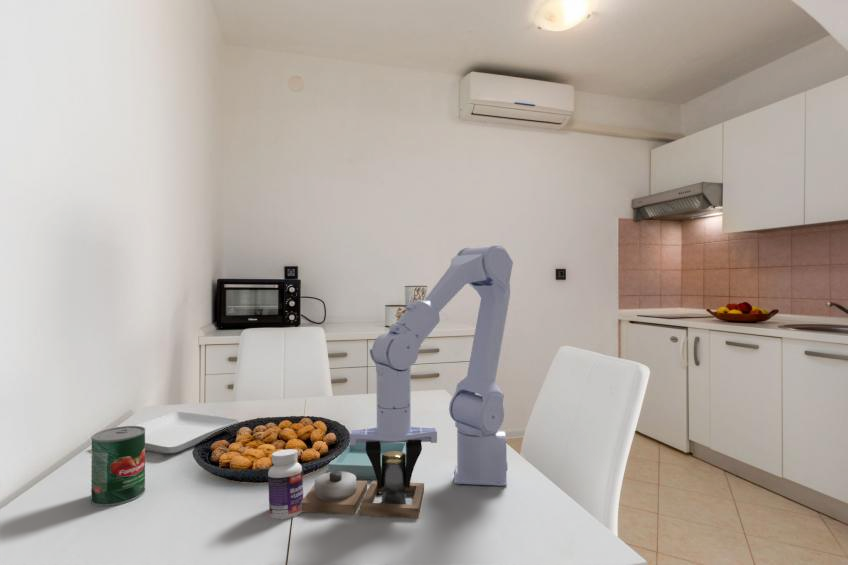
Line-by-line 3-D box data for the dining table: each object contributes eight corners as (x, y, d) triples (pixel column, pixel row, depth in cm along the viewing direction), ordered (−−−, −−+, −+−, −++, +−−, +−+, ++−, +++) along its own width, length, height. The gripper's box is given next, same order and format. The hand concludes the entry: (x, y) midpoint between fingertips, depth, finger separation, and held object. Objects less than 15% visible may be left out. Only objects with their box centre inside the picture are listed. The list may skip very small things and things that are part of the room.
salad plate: (172, 462, 97) (172, 445, 97) (98, 450, 104) (98, 435, 104) (242, 431, 117) (242, 418, 117) (176, 423, 124) (176, 410, 124)
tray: (410, 453, 101) (410, 441, 101) (401, 480, 88) (401, 467, 88) (347, 451, 103) (347, 439, 103) (328, 477, 89) (328, 464, 89)
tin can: (406, 498, 80) (406, 451, 80) (403, 509, 76) (403, 460, 76) (384, 497, 81) (384, 450, 81) (379, 508, 77) (379, 459, 77)
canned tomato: (133, 504, 78) (133, 438, 78) (81, 508, 77) (81, 441, 77) (152, 484, 86) (152, 424, 86) (105, 487, 84) (105, 426, 84)
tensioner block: (424, 491, 83) (424, 466, 83) (418, 518, 73) (418, 489, 73) (318, 487, 85) (318, 462, 85) (300, 512, 75) (300, 484, 75)
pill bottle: (296, 520, 73) (293, 456, 74) (263, 521, 73) (261, 457, 74) (309, 506, 78) (306, 446, 79) (278, 507, 79) (275, 448, 80)
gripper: (433, 398, 83) (433, 474, 83) (351, 399, 82) (351, 477, 82) (438, 408, 76) (438, 491, 76) (348, 410, 75) (348, 495, 75)
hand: (393, 485), depth 79 cm, fingers closed on tin can, 4 cm apart
